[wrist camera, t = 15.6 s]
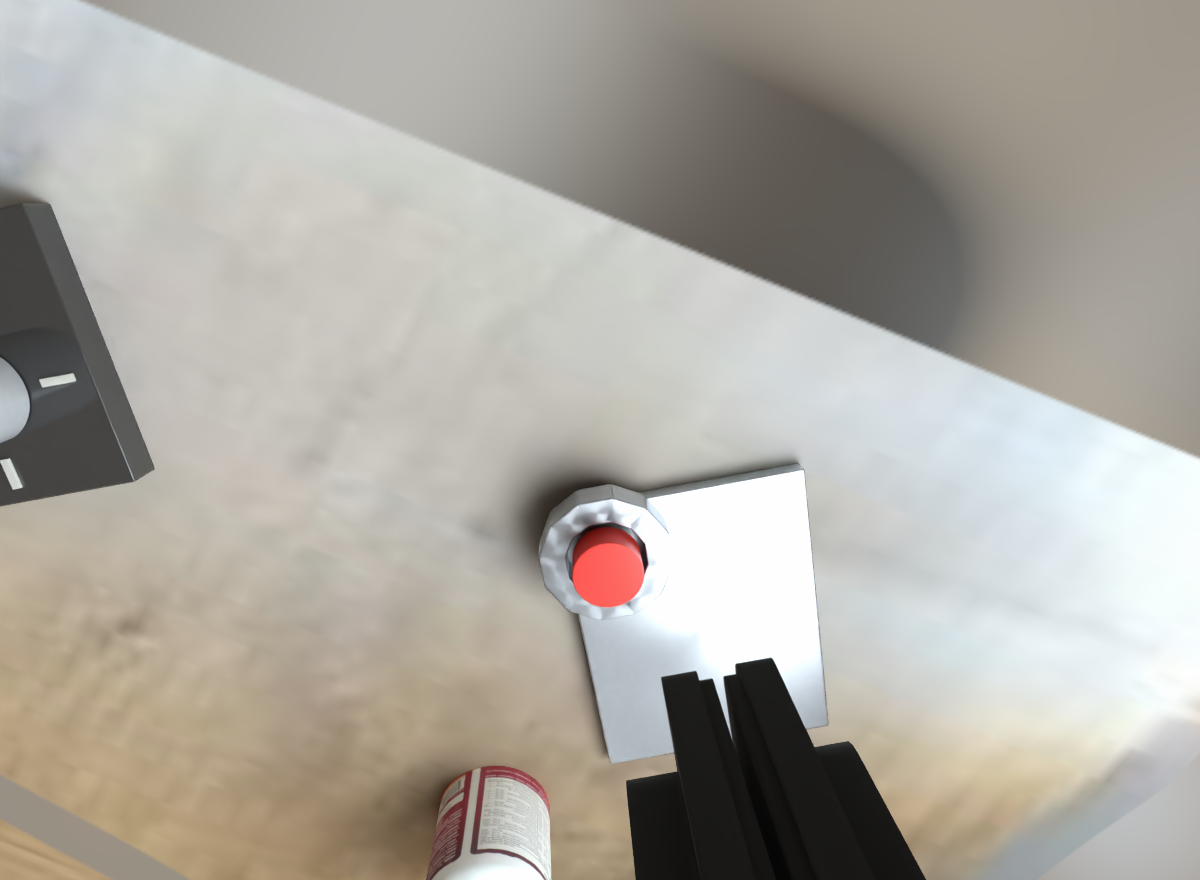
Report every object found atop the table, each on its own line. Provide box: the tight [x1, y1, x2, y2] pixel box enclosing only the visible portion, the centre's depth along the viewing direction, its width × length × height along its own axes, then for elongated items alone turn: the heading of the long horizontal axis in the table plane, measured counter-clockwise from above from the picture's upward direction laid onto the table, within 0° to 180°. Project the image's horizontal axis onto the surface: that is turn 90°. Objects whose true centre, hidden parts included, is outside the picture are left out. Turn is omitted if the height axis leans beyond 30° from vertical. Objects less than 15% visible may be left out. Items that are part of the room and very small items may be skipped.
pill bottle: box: [426, 766, 551, 880], centre depth 36 cm, size 6×6×11 cm
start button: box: [572, 527, 644, 607], centre depth 32 cm, size 3×3×2 cm
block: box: [538, 463, 829, 764], centre depth 36 cm, size 16×13×4 cm
